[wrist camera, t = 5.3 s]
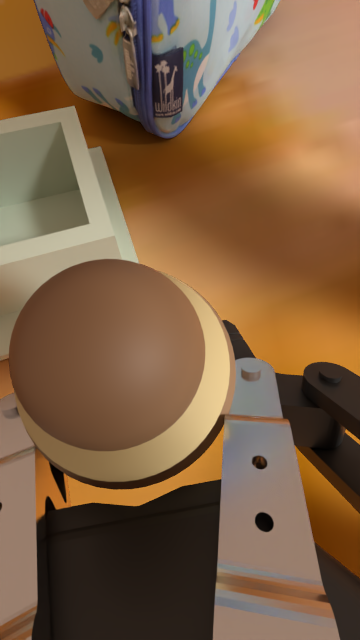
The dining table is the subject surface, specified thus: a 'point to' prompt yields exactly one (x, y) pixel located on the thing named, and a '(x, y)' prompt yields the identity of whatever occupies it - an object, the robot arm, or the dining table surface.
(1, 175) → the caddy
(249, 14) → the lunch box
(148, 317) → the pepper mill
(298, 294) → the dining table surface
